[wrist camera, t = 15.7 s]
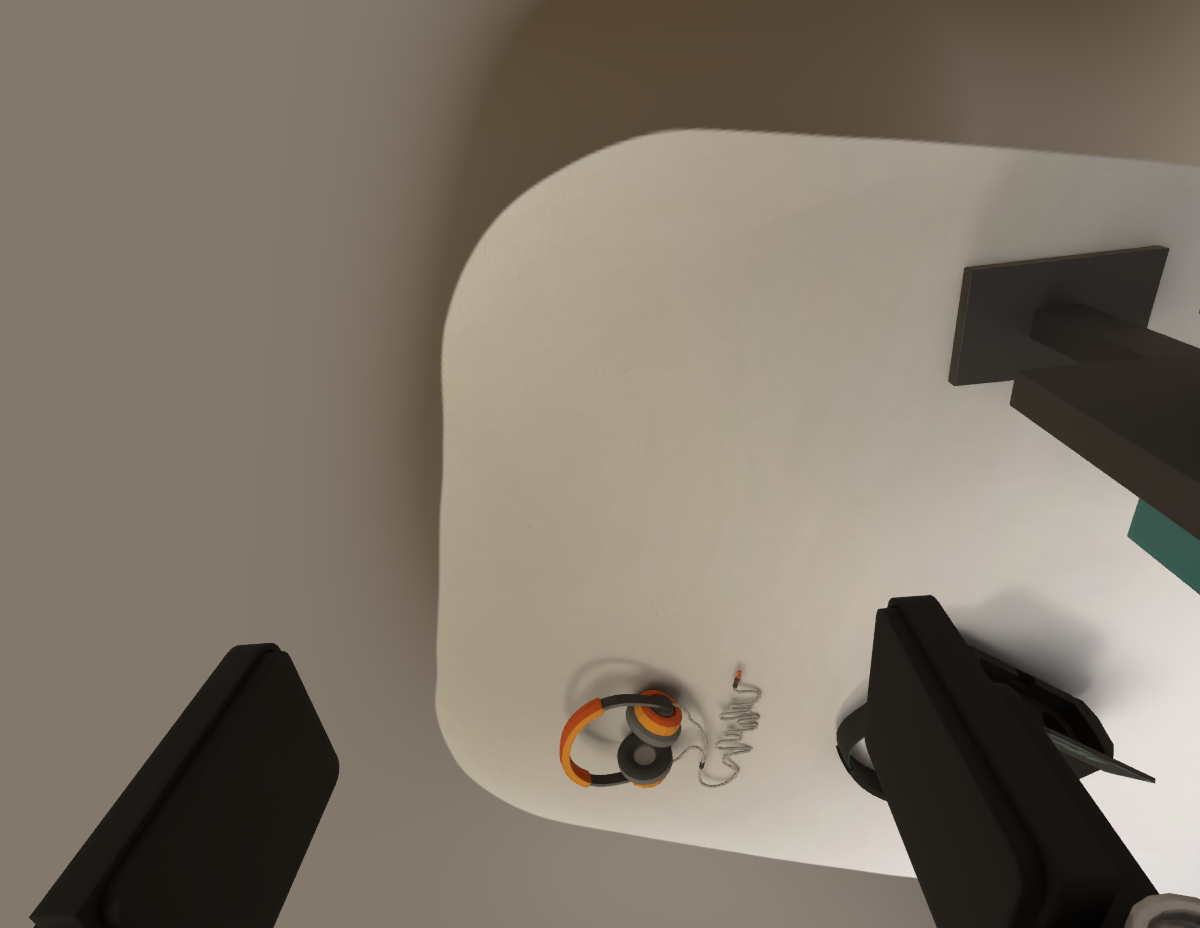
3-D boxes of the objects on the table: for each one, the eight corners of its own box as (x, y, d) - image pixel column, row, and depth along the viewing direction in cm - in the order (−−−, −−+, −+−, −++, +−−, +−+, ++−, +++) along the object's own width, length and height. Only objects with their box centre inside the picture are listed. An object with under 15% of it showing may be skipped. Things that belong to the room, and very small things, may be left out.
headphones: (749, 807, 64) (555, 831, 60) (730, 762, 69) (548, 780, 64) (793, 690, 57) (573, 707, 52) (767, 647, 61) (564, 659, 57)
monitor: (932, 270, 42) (1251, 418, 21) (1191, 241, 40) (1817, 366, 19) (918, 384, 46) (1177, 607, 24) (1155, 360, 44) (1647, 575, 23)
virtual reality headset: (1119, 685, 57) (1191, 798, 49) (933, 781, 69) (966, 883, 61) (964, 606, 53) (1014, 714, 45) (796, 722, 65) (812, 824, 57)
